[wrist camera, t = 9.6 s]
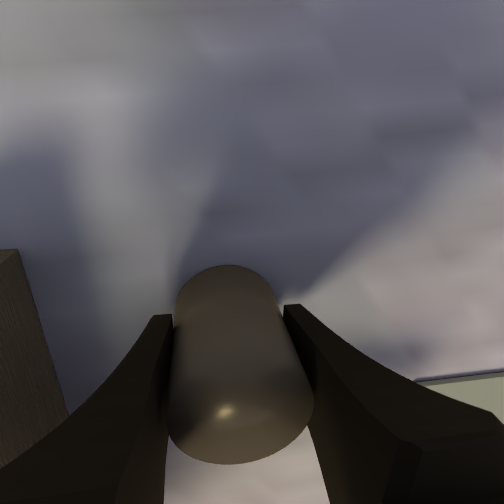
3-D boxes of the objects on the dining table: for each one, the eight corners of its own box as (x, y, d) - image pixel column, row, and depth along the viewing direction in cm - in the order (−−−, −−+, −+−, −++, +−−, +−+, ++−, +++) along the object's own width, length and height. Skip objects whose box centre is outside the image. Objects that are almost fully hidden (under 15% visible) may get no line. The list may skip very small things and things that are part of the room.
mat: (381, 489, 21) (384, 494, 21) (412, 382, 17) (415, 387, 17) (507, 468, 22) (510, 472, 22) (560, 364, 19) (566, 369, 18)
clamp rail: (46, 492, 16) (-12, 649, 12) (-49, 252, 11) (-227, 366, 6) (90, 486, 17) (49, 636, 12) (17, 249, 11) (-107, 355, 7)
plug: (179, 353, 14) (172, 473, 10) (170, 268, 12) (157, 365, 8) (272, 344, 15) (307, 453, 10) (276, 262, 13) (320, 349, 8)
